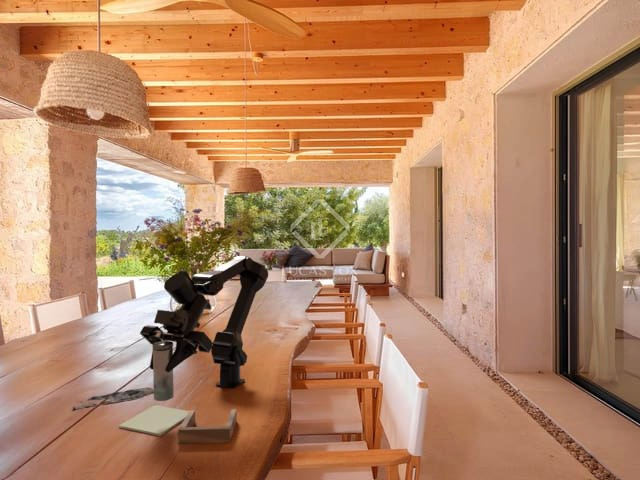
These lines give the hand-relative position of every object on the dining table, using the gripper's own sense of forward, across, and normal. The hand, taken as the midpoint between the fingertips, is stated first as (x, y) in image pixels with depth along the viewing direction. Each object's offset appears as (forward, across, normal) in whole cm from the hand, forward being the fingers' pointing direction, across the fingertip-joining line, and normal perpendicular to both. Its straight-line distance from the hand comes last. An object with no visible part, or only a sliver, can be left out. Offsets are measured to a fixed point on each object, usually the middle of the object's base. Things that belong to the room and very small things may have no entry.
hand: (159, 370), depth 102 cm
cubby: (+8, +12, +11) cm, 19 cm away
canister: (+4, 0, +6) cm, 7 cm away
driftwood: (+5, -23, +16) cm, 28 cm away
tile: (+8, -2, +11) cm, 14 cm away
